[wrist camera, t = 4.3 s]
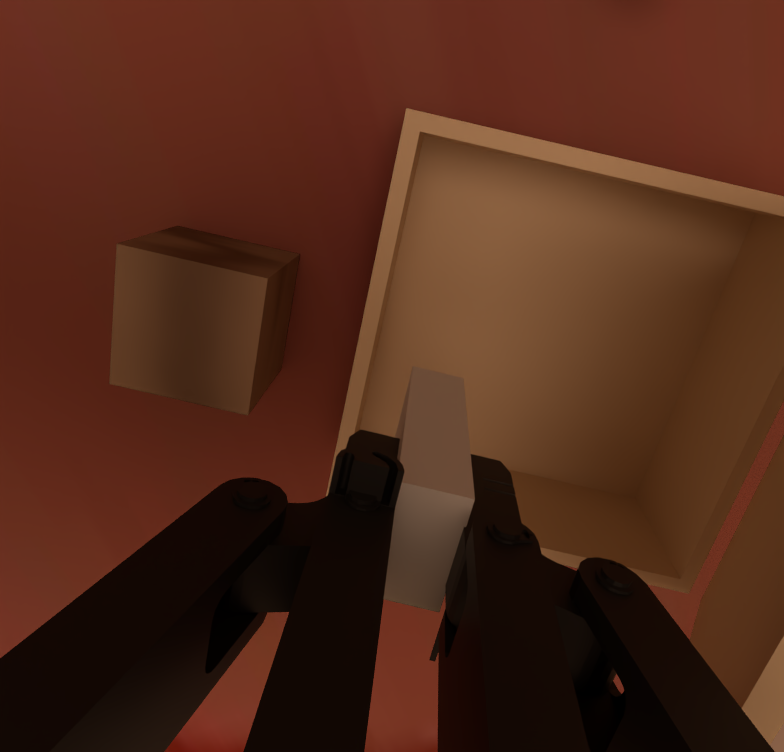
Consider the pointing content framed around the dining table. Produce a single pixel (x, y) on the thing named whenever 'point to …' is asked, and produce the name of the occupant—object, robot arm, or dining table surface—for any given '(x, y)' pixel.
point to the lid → (750, 608)
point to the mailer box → (581, 334)
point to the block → (200, 317)
